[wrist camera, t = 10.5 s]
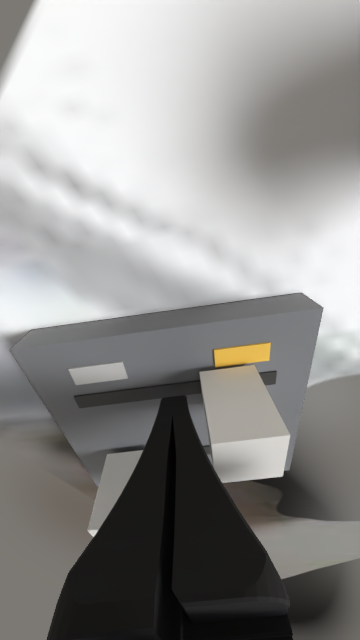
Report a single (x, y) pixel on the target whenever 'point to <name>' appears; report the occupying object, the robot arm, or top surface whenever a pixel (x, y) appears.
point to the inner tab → (112, 485)
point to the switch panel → (165, 368)
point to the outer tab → (243, 425)
